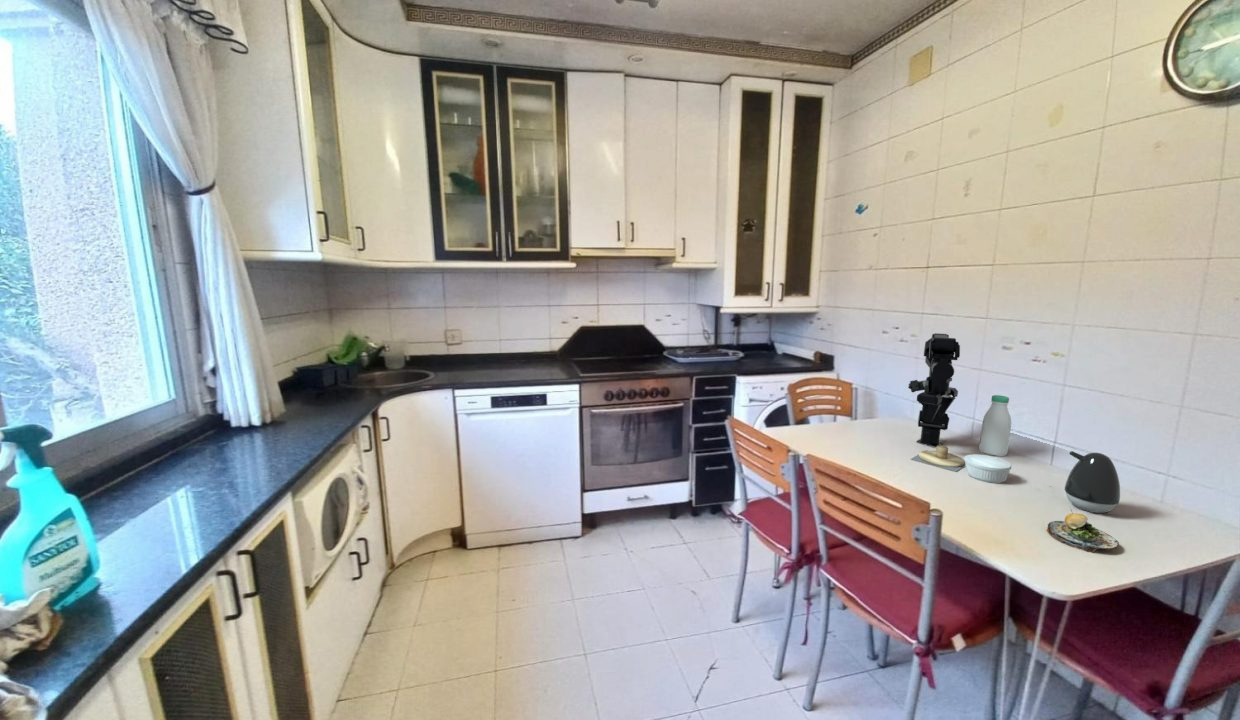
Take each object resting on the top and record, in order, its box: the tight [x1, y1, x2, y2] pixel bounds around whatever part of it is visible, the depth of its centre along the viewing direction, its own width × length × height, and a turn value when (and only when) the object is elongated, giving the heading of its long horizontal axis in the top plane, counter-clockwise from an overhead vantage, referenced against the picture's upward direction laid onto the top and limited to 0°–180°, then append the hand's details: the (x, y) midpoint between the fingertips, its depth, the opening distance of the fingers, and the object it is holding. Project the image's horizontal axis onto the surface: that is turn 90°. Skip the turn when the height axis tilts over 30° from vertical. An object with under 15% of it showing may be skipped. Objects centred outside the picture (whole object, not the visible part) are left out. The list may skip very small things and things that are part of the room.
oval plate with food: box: [1046, 507, 1120, 553], centre depth 108 cm, size 12×12×8 cm
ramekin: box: [963, 453, 1012, 484], centre depth 142 cm, size 11×11×5 cm
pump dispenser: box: [1064, 450, 1121, 514], centre depth 122 cm, size 10×10×15 cm
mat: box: [910, 449, 966, 473], centre depth 155 cm, size 13×13×1 cm
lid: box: [918, 445, 964, 468], centre depth 154 cm, size 12×12×4 cm
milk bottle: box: [978, 394, 1012, 457], centre depth 161 cm, size 8×8×20 cm
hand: (934, 419), depth 160 cm, fingers open, 9 cm apart
